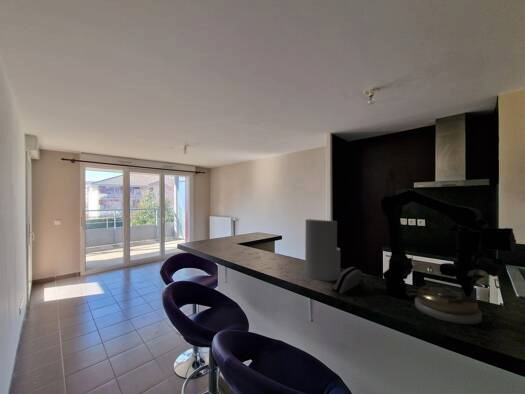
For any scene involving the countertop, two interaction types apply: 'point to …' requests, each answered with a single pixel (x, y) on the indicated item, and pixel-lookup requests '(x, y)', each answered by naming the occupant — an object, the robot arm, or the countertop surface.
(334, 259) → the cylinder
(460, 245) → the robot arm
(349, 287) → the dark grey curved piece
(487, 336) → the countertop surface
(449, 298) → the shallow round tray
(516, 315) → the countertop surface
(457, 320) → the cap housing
